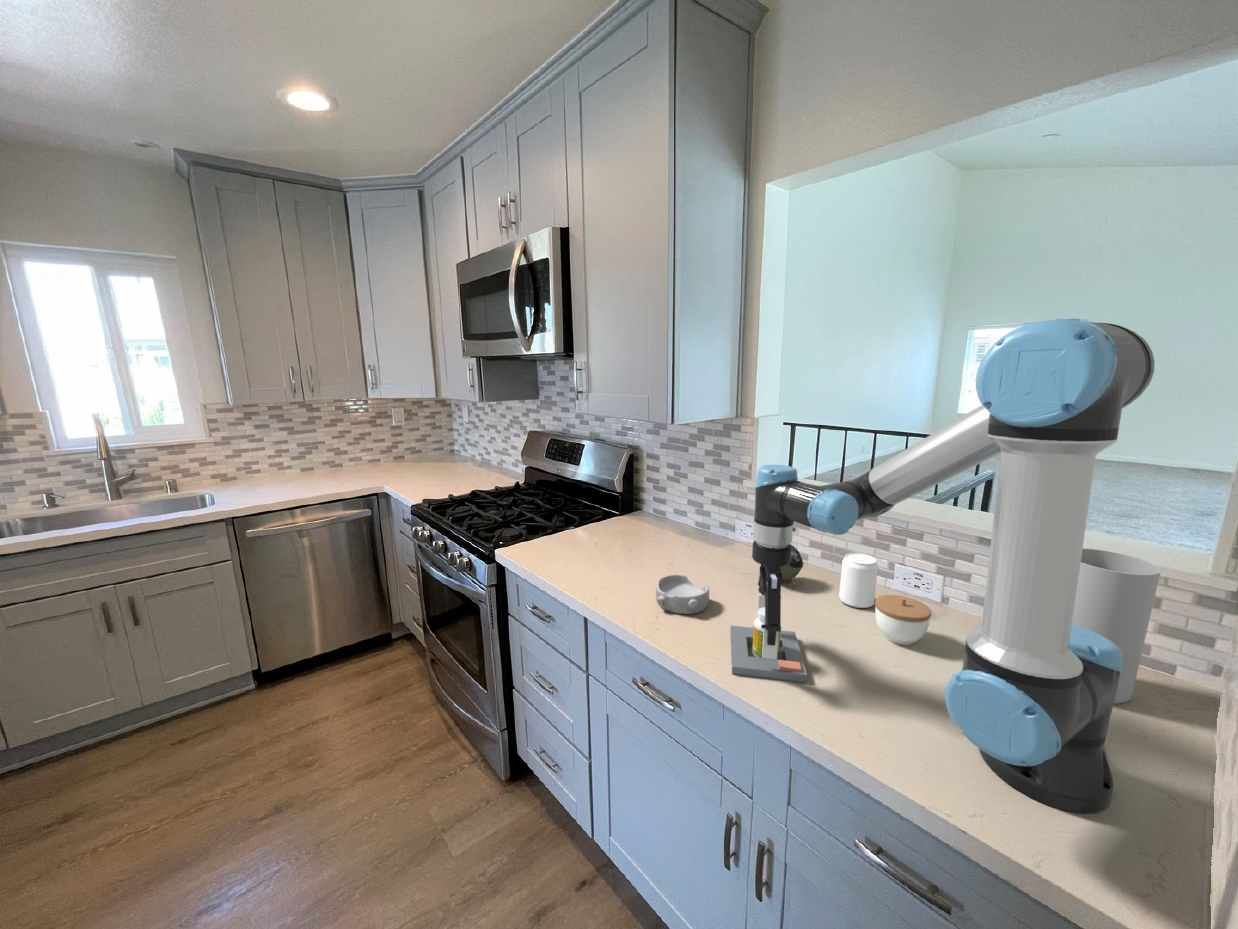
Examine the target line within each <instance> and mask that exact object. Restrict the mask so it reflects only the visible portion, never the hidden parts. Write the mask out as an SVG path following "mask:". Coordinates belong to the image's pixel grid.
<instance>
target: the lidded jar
mask: <svg viewBox="0 0 1238 929" xmlns="http://www.w3.org/2000/svg"><path fill="white" fill-rule="evenodd" d="M874 605H875V609H874V613H875V623H876V626H877V627H878V629H879V631H880V632H881V633H882V634H883V636H884V638H886V639H887V640H888V641H890V642H892V643H895V644H898V645H905V646H908V645H909V646H910V645H911V646H912V645H913V644H915V642H917V641H919V640H921V639H922V638H923V637H924V636H925V634H926V633H927V631H928V628H929V626H930V621H931V617H932V610H931V609H930V607H929V606H928V605H926V604H925V603H923V602H921V601H920V600H918V599H914V598H912V597H909V596H903V595H899V594H898V595H897V594H884V595H879V596H878V597H876V599H875V600H874Z"/></svg>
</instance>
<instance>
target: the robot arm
mask: <svg viewBox="0 0 1238 929" xmlns="http://www.w3.org/2000/svg"><path fill="white" fill-rule="evenodd" d="M1154 357H1155V356H1154V354H1153V350H1152V348H1151V347H1150V345H1149V343H1148V342H1147V340H1145V339H1144V337H1142V336H1140V334H1138V333H1137V332H1135V330H1131V329H1130V328H1127V327H1125V326H1123V325H1118V324H1115V323H1114V324H1113V323H1106V322H1096V321H1095V322H1093V321H1088V320H1084V319H1081V318H1059V317H1058V318H1054V319H1048V320H1047V319H1046V320H1039V321H1034V322H1030V323H1028V324H1025V325H1022V326H1019V327H1017V328H1015V329H1013V330H1011V331H1010V332H1009V331H1008V333H1006V334H1004V335H1003V336H1002V337H1000V339H998V340H997V341H996V342H994V344H993V345H991V347H990V348H989V349H988V351H987V352H986V353H985V354H984V355H983V357H982V358H981V361H980V363H979V366H978V368H977V371H976V375H975V376H976V377H975V390H976V394H977V397H978V400H979V401H980V403H981V405H980V406H978V407H977V408H974V409H973V410H971V411H969V412H968V413H966V414H964V415H962V416H961V417H959V418H957V419H956V420H954V421H952V422H950V423H948V424H947V425H945V426H943V427H942V428H940V429H938V430H937V431H935V432H933V433H932V434H930V435H928V436H926V437H924V438H923V439H921V440H919V441H918V442H915V443H914V444H912V445H911V446H910V447H907V448H905V449H903V450H902V451H901V452H899V453H897V454H896V455H894V456H892V457H890V458H889V459H887V460H885V461H884V462H882V463H879V464H878V465H877V466H875V467H873V468H871V469H870V470H868V471H867V472H865V473H863V474H862V475H860V476H858V477H856V478H854V479H852V480H845V481H840V482H836V483H835V482H834V483H829V484H824V485H816V484H810V483H805V482H803V481H800V480H798V479H799V477H798V470H797V469H796V468H795V467H792V466H790V465H785V464H765V465H762V466H760V467H759V468H758V470H757V475H756V479H755V480H756V483H755V485H754V488H755V493H754V494H755V501H754V502H755V503H754V519H753V527H752V528H753V530H752V533H753V534H752V539H753V541H752V549H751V552H752V553H751V559H752V560H753V561H754V562H755V563H756V564H759V575H758V576H759V577H758V582H757V586H758V597H757V598H758V599H757V614H756V618H758V610H759V609H760V608H763V607H765V625H763V624H762V625H761V628H763V629H764V633H763V649H762V658H770V659H777V649H778V635H779V632H780V631H781V630H782V624H781V622H782V621H781V620H782V616H781V614H782V610H781V608H782V607H781V606H782V603H781V601H782V600H781V599H782V597H781V592H782V586H781V582H782V580H781V579H782V573H781V572H780V567H782V566H786V565H788V564H789V563H790V562H791V554H792V546H793V545H792V543H793V533H796V532H797V527H795V526H794V524H795V523H797V524H800V525H803V526H806V527H808V528H812V529H815V530H816V531H818V532H821V533H826V534H831V535H835V536H836V535H837V536H841V535H845V534H847V533H848V532H849V530H850V529H852V528H853V527H854V526H855V524H856V522H857V521H858V520H863V519H868V518H876V517H878V516H881V515H884V514H886V513H888V512H889V511H891V510H892V509H893V508H894V507H895V505H897V504H900V503H902V502H903V501H906V500H908V499H911V498H912V497H914V496H916V495H918V494H920V493H923V492H925V491H926V490H928V489H930V488H933V487H935V486H936V485H939V484H941V483H942V482H945V481H947V480H949V479H952V478H954V477H955V476H957V475H960V474H962V473H964V472H966V471H968V470H971V469H972V468H974V467H977V466H978V465H980V464H982V463H984V462H986V461H988V460H991V459H992V458H995V457H996V456H998V455H1000V456H999V457H1000V458H999V465H998V466H999V467H998V476H997V486H996V494H995V502H994V512H993V522H992V528H991V529H992V531H991V541H990V548H989V559H988V567H987V575H986V576H987V577H986V584H985V594H984V602H983V611H982V620H981V626H979V627H976V628H974V629H973V630H970V631H969V632H968V633H967V634H966V639H965V645H964V646H965V647H964V654H963V656H964V657H963V664H962V665H963V666H962V669H961V670H960V671H957V672H956V673H954V674H952V676H951V678H950V680H948V682H947V684H946V686H945V688H944V700H945V706H946V708H947V709H946V710H947V711H948V713H949V715H950V717H951V719H952V721H953V722H954V724H955V725H957V726H958V727H959V728H960V730H961V731H962V734H963V735H964V737H966V739H967V740H968V741H970V742H971V743H972V745H974V746H976V747H977V748H978V749H979V752H980V755H981V757H982V759H983V762H985V764H987V766H988V767H989V768H990V769H991V771H992V772H993V773H994V774H996V775H997V777H999V778H1000V779H1002V781H1004V782H1005V783H1006V784H1008V785H1009V786H1011V787H1013V788H1014V789H1016V790H1017V791H1019V792H1021V793H1022V794H1024V795H1026V796H1028V797H1030V798H1032V799H1034V800H1036V801H1038V802H1041V803H1043V804H1045V805H1047V806H1051V807H1054V808H1056V809H1060V810H1063V811H1068V812H1073V813H1080V814H1094V813H1099V812H1102V811H1105V810H1106V809H1107V808H1108V807H1110V805H1111V801H1112V798H1113V793H1114V780H1113V776H1112V772H1111V767H1110V763H1109V758H1108V756H1107V750H1106V746H1105V743H1106V739H1107V734H1108V731H1109V725H1110V721H1111V718H1112V717H1111V715H1112V712H1113V707H1114V704H1115V703H1114V699H1115V695H1116V691H1117V686H1118V682H1119V677H1120V673H1121V672H1123V669H1122V661H1123V654H1122V651H1121V649H1120V648H1119V647H1118V646H1117V645H1116V644H1115V643H1113V642H1112V641H1110V640H1109V639H1107V638H1105V637H1104V636H1102V635H1099V634H1097V633H1095V632H1093V631H1090V630H1088V629H1085V628H1082V627H1080V626H1077V625H1074V624H1072V620H1073V612H1074V605H1075V598H1076V591H1077V584H1078V577H1079V570H1080V563H1081V556H1082V549H1083V548H1084V543H1085V542H1084V541H1085V533H1086V527H1087V521H1088V512H1089V506H1090V499H1091V492H1092V485H1093V480H1094V479H1093V478H1094V472H1095V463H1096V458H1097V457H1096V456H1098V455H1099V453H1101V452H1103V451H1104V450H1106V449H1108V448H1109V447H1111V446H1113V445H1115V444H1116V443H1117V441H1118V438H1119V437H1118V435H1119V431H1120V430H1119V429H1120V422H1121V416H1122V410H1123V409H1124V408H1126V407H1127V406H1129V405H1131V404H1132V403H1133V402H1135V401H1136V400H1137V399H1138V398H1139V397H1140V396H1142V394H1143V393H1144V392H1145V390H1147V388H1148V387H1149V386H1150V383H1151V381H1152V379H1153V376H1154V374H1155V361H1156V360H1155V358H1154ZM791 545H792V546H791Z"/></svg>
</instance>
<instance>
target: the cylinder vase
mask: <svg viewBox="0 0 1238 929" xmlns="http://www.w3.org/2000/svg"><path fill="white" fill-rule="evenodd" d="M1160 575H1161V568H1160V567H1158V566H1157V565H1155V564H1153V563H1151V562H1149V561H1146V560H1144V559H1141V558H1138V557H1136V556H1131V555H1128V554H1125V553H1119V552H1115V551H1111V550H1104V549H1097V548H1089V547H1087V548H1086V547H1083V549H1082V556H1081V563H1080V570H1079V577H1078V584H1077V591H1076V598H1075V605H1074V612H1073V620H1072V624H1074V625H1077V626H1080V627H1082V628H1085V629H1088V630H1090V631H1093V632H1095V633H1097V634H1099V635H1102V636H1104V637H1105V638H1107V639H1109V640H1110V641H1112V642H1113V643H1115V644H1116V645H1117V646H1118V647H1119V648H1120V649H1121V651H1122V654H1123V661H1122V669H1123V672H1121V673H1120V677H1119V682H1118V686H1117V691H1116V695H1115V699H1114V704H1123V703H1126V702H1129V701H1130V700H1131V698H1132V697H1133V693H1134V688H1135V685H1136V681H1137V677H1138V676H1137V675H1138V672H1139V667H1140V663H1141V660H1142V659H1141V658H1142V654H1143V649H1144V645H1145V640H1146V637H1147V632H1148V630H1149V624H1150V619H1151V615H1152V610H1153V607H1154V602H1155V598H1156V593H1157V589H1158V584H1159V580H1160Z"/></svg>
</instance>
